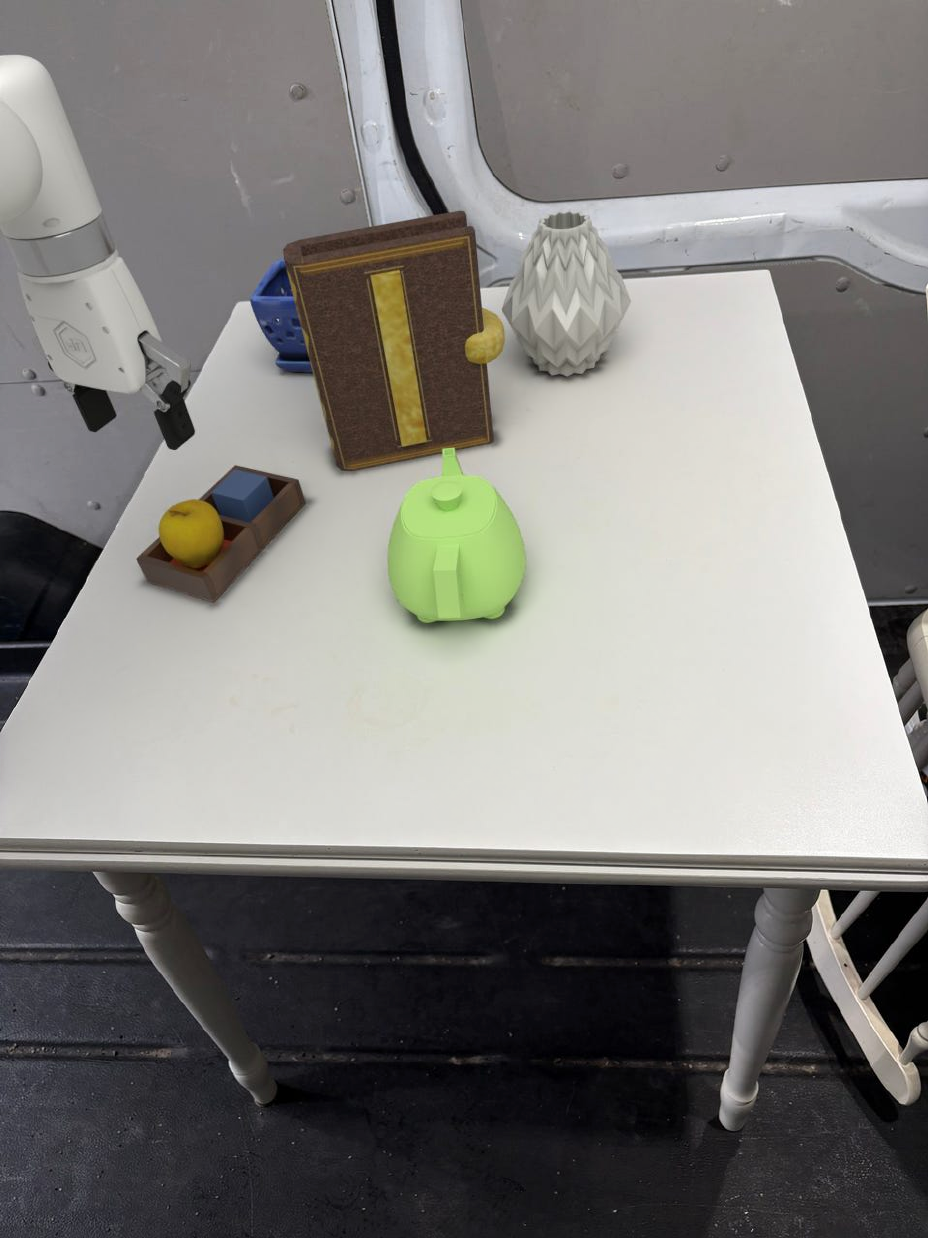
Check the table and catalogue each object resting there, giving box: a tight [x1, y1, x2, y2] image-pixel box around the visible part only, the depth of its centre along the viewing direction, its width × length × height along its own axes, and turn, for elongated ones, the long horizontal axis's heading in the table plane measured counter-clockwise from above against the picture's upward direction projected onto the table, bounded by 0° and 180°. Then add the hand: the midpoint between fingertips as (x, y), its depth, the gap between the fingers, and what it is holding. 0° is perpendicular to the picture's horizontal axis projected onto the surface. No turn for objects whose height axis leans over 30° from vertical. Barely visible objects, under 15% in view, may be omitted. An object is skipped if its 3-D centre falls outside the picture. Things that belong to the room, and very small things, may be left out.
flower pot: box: [249, 258, 313, 373], centre depth 117 cm, size 13×13×12 cm
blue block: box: [211, 470, 274, 523], centre depth 94 cm, size 4×4×4 cm
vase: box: [501, 209, 632, 378], centre depth 106 cm, size 16×16×18 cm
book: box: [282, 210, 506, 472], centre depth 94 cm, size 22×8×25 cm, turn 101°
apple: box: [158, 498, 224, 568], centre depth 87 cm, size 6×6×8 cm
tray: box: [135, 464, 307, 603], centre depth 92 cm, size 17×9×3 cm, turn 154°
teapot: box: [387, 448, 527, 624], centre depth 80 cm, size 20×13×13 cm
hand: (142, 432), depth 78 cm, fingers open, 9 cm apart
